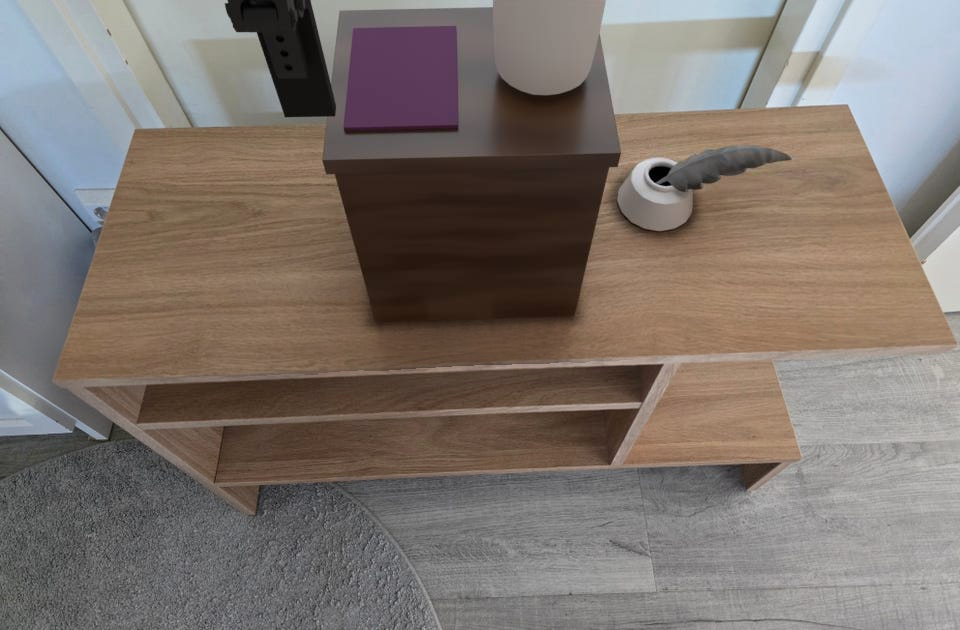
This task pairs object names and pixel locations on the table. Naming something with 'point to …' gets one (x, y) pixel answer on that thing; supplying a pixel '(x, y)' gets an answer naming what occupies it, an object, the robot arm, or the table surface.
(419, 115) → the purple rectangular slab
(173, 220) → the table surface
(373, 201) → the box
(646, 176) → the inkwell
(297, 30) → the robot arm
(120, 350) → the table surface
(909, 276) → the table surface
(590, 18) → the cup
